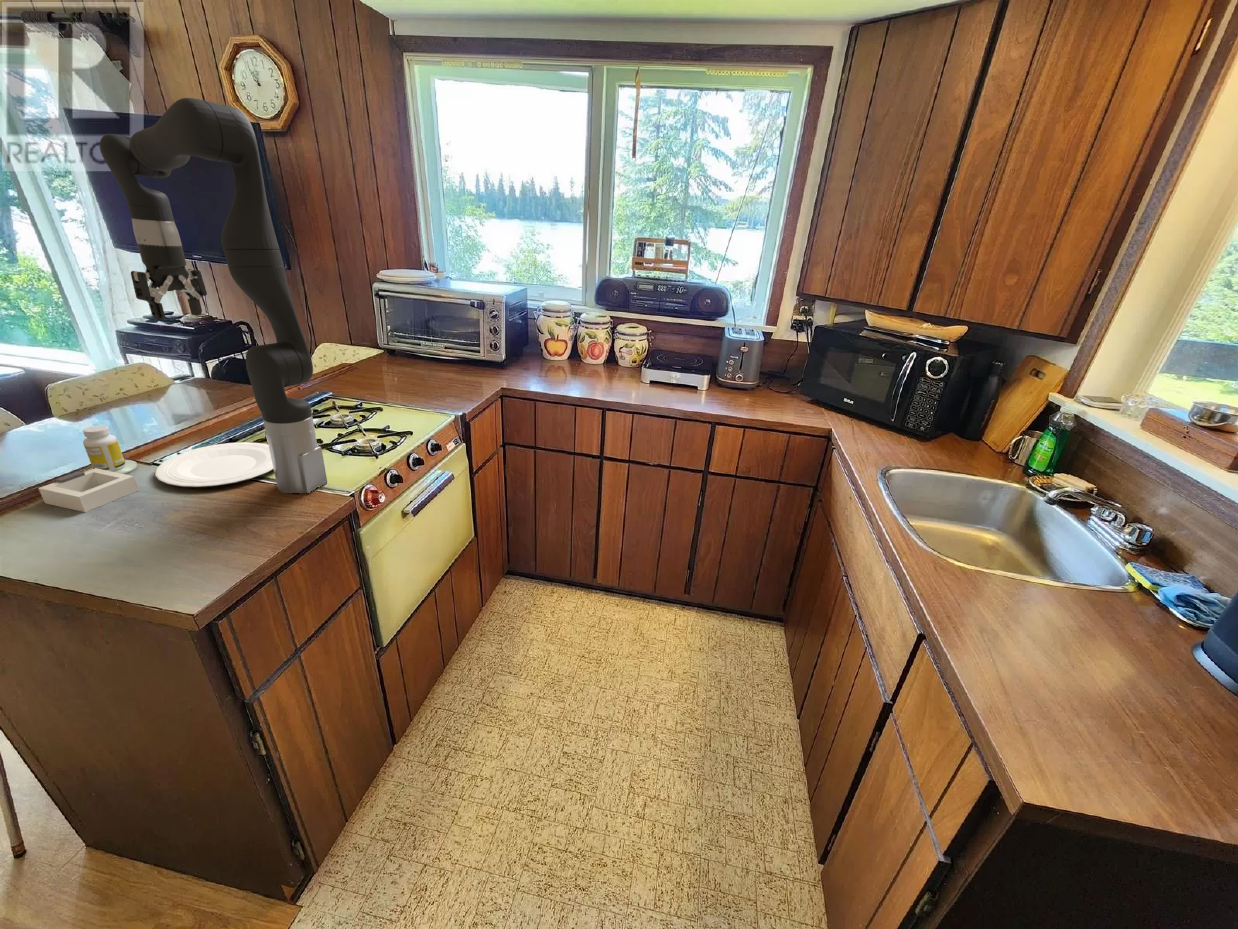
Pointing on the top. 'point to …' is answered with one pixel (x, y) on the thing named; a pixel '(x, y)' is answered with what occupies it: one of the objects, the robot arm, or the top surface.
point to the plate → (216, 465)
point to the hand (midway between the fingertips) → (179, 317)
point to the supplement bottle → (103, 449)
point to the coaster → (127, 469)
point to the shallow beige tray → (88, 489)
